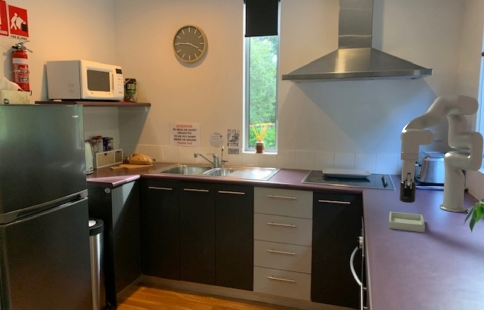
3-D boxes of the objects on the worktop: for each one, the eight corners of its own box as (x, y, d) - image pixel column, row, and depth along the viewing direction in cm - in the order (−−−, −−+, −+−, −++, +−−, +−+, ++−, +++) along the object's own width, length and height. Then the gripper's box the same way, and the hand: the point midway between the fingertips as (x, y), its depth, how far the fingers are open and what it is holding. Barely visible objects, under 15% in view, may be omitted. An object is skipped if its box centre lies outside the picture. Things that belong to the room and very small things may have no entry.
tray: (389, 217, 182) (389, 211, 182) (421, 220, 176) (422, 214, 176) (388, 228, 166) (389, 221, 165) (424, 232, 160) (424, 225, 160)
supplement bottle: (401, 198, 174) (402, 174, 173) (416, 201, 170) (418, 175, 169) (397, 201, 169) (398, 176, 168) (412, 203, 165) (414, 177, 163)
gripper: (400, 154, 177) (398, 190, 179) (400, 158, 161) (398, 198, 163) (417, 155, 174) (415, 191, 176) (419, 159, 158) (417, 199, 160)
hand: (407, 194), depth 169 cm, fingers closed on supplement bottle, 6 cm apart
